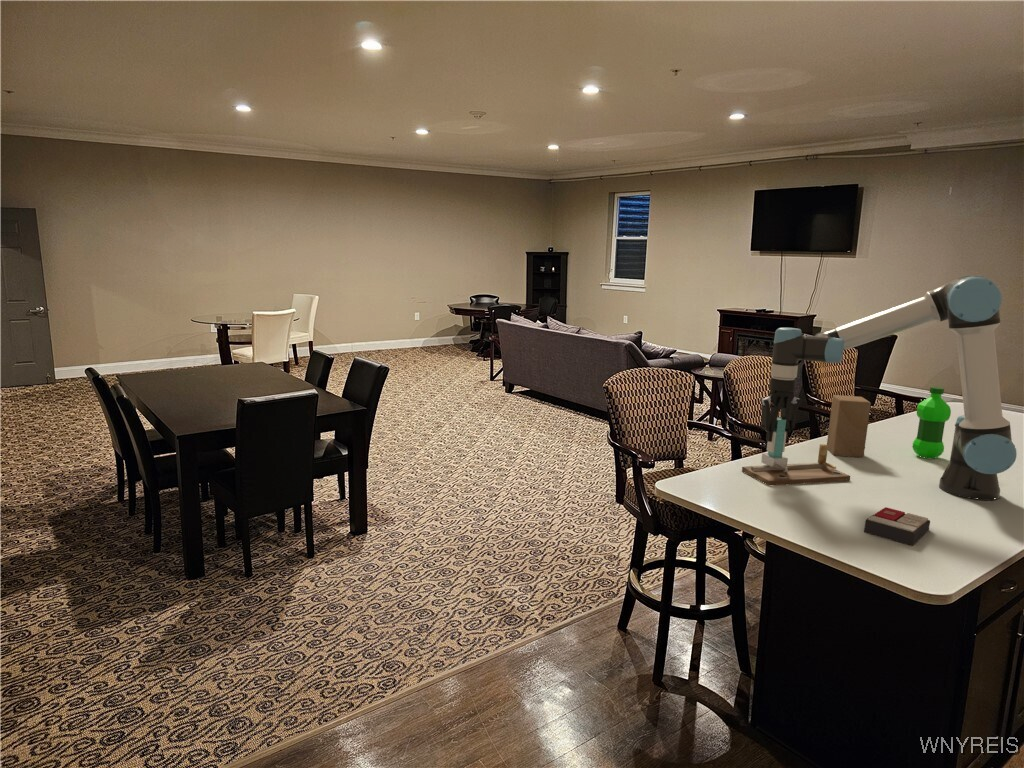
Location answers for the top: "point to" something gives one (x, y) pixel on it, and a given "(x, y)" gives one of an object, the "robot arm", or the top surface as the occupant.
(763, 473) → the hole plate
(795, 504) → the top surface
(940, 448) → the plastic bottle
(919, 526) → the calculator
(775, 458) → the sliding lever
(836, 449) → the wooden block
